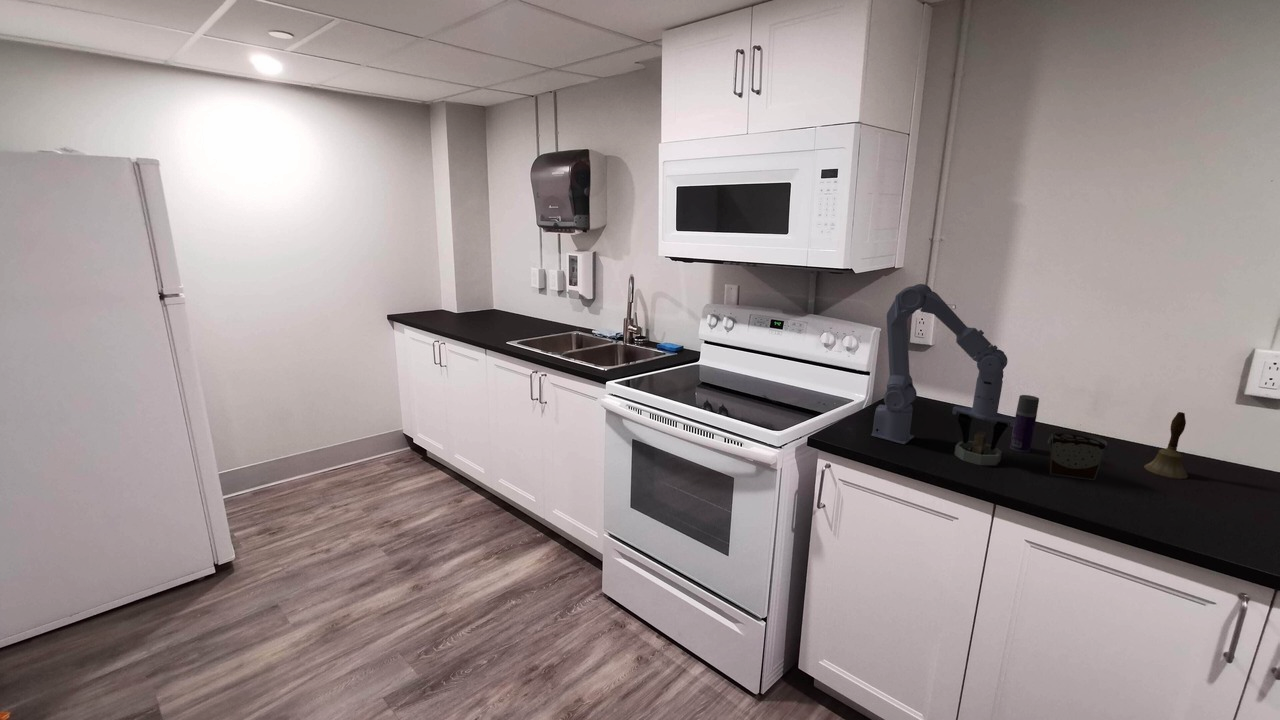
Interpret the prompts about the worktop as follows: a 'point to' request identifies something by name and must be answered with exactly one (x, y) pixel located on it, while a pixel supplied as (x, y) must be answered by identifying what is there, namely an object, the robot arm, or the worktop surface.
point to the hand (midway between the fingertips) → (978, 445)
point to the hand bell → (1170, 453)
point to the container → (1024, 423)
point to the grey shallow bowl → (986, 459)
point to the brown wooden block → (979, 442)
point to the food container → (1076, 454)
